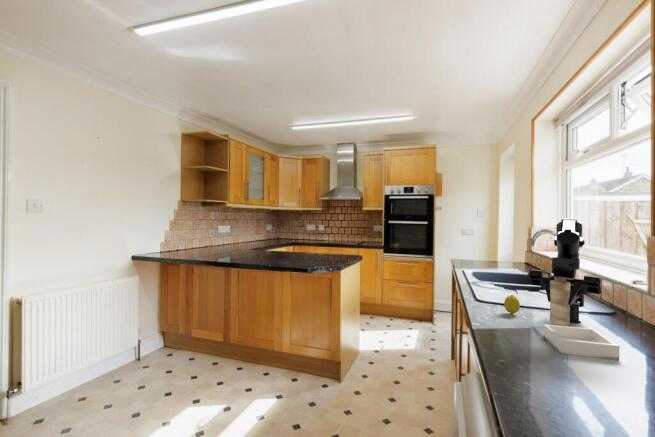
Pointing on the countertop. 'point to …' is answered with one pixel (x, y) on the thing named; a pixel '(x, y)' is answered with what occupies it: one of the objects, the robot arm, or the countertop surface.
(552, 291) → the pepper mill
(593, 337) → the bin
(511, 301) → the lemon
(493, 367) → the countertop surface
